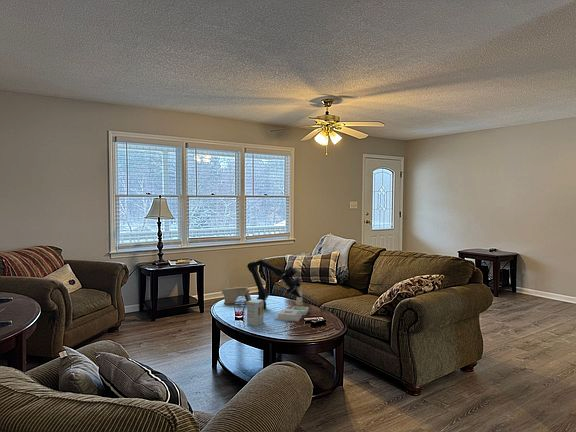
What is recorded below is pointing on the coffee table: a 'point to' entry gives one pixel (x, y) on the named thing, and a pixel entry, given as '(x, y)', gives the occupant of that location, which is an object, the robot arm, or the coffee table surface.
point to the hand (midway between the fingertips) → (301, 296)
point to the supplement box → (255, 312)
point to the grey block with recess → (288, 315)
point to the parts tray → (301, 310)
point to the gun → (235, 295)
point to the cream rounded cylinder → (299, 299)
